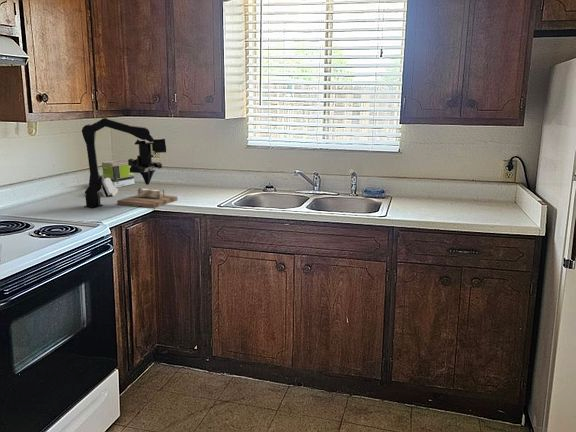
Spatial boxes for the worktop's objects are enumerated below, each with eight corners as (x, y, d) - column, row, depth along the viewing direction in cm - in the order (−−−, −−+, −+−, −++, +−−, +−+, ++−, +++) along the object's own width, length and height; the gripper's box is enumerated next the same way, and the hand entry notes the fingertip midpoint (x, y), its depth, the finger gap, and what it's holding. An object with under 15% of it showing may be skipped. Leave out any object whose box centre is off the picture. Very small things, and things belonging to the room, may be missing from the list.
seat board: (154, 208, 261) (153, 196, 260) (117, 204, 269) (116, 193, 268) (177, 200, 279) (176, 189, 278) (142, 197, 287) (141, 186, 286)
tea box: (124, 182, 331) (122, 158, 327) (135, 184, 325) (133, 160, 322) (103, 186, 319) (101, 161, 315) (114, 188, 313) (112, 163, 310)
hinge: (113, 196, 289) (105, 179, 286) (105, 199, 289) (97, 182, 286) (118, 190, 305) (111, 174, 302) (110, 193, 305) (103, 177, 302)
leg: (137, 196, 277) (137, 188, 276) (141, 195, 280) (140, 187, 279) (159, 198, 273) (159, 190, 272) (163, 197, 276) (162, 189, 275)
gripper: (143, 150, 277) (145, 180, 280) (119, 154, 260) (122, 186, 263) (161, 151, 272) (163, 181, 276) (138, 155, 256) (140, 188, 259)
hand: (147, 184), depth 269 cm, fingers closed
